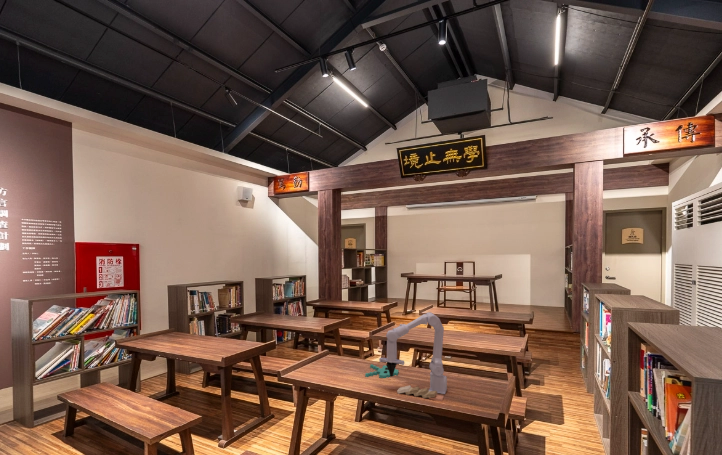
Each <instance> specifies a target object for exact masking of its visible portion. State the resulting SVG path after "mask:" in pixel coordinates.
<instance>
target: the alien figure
mask: <svg viewBox="0 0 722 455" xmlns="http://www.w3.org/2000/svg"><path fill="white" fill-rule="evenodd" d="M369 368H370V369H372V370H374V371H370V372H366V373H365V374H364V375H365V376H364V377H365V378H370V377H373V376H377V375H378V378H379V379H385V378H386V379H387V378H389V377H390V378H391V376H390V373H389V370H388V368H387V366H386V364H385V365H382V367H381V368H380V367H379V366H377V365H374V364H370V365H369ZM399 372H400V371H399V369H396V367H395V370H394V374H393V376H394V375H396V376H398V375H399ZM394 377H395V376H394Z"/></svg>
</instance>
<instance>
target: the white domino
mask: <svg viewBox="0 0 722 455" xmlns="http://www.w3.org/2000/svg"><path fill="white" fill-rule="evenodd" d="M411 388H412V386H411V385H405V386H401V387H399V388H398V389H397V390H396V392H397V394H398V395H399V394H403V393H405V392H408V391H410V390H411Z"/></svg>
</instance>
